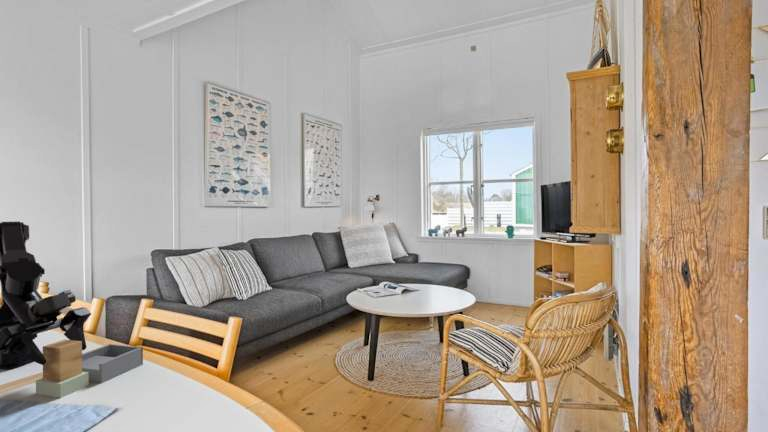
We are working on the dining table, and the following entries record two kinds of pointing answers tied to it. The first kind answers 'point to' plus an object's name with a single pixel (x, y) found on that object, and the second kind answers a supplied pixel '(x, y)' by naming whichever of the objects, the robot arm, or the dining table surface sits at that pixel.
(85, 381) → the step
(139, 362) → the tray
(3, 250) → the robot arm
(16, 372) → the dining table surface
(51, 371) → the oak pillar
